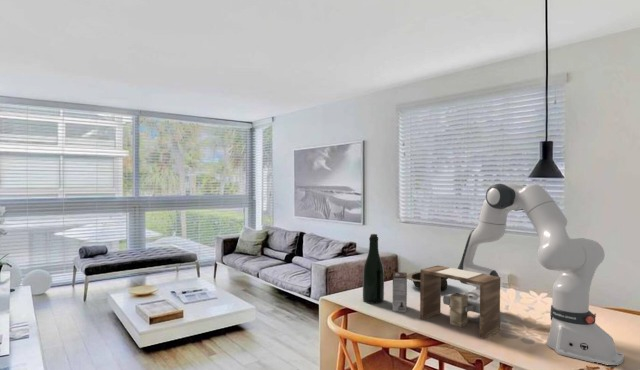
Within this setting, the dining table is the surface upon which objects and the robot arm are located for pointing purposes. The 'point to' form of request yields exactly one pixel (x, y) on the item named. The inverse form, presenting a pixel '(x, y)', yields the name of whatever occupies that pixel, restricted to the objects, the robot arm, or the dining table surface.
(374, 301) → the green wine bottle
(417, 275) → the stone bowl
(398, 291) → the coffee box
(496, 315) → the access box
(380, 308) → the dining table surface
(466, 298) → the maple block
